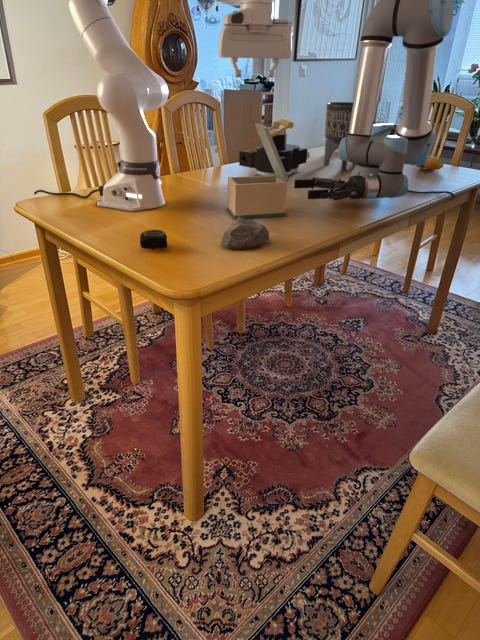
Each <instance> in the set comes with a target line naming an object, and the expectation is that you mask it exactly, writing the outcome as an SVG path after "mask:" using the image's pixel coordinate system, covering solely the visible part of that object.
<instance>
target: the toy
mask: <svg viewBox="0 0 480 640" xmlns="http://www.w3.org/2000/svg"><path fill="white" fill-rule="evenodd" d="M444 165H445V164H444V163H443V162H441V161H439V159H438V158H437V157H435V156H433V155H430V156H429V158H428V160H427V162H426V163H425V164H424V165H421V166H419V165H416V167H417V168H421V169H425V170H427V171H429V172H434V171H438V170H440V169H443V167H444Z"/></svg>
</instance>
